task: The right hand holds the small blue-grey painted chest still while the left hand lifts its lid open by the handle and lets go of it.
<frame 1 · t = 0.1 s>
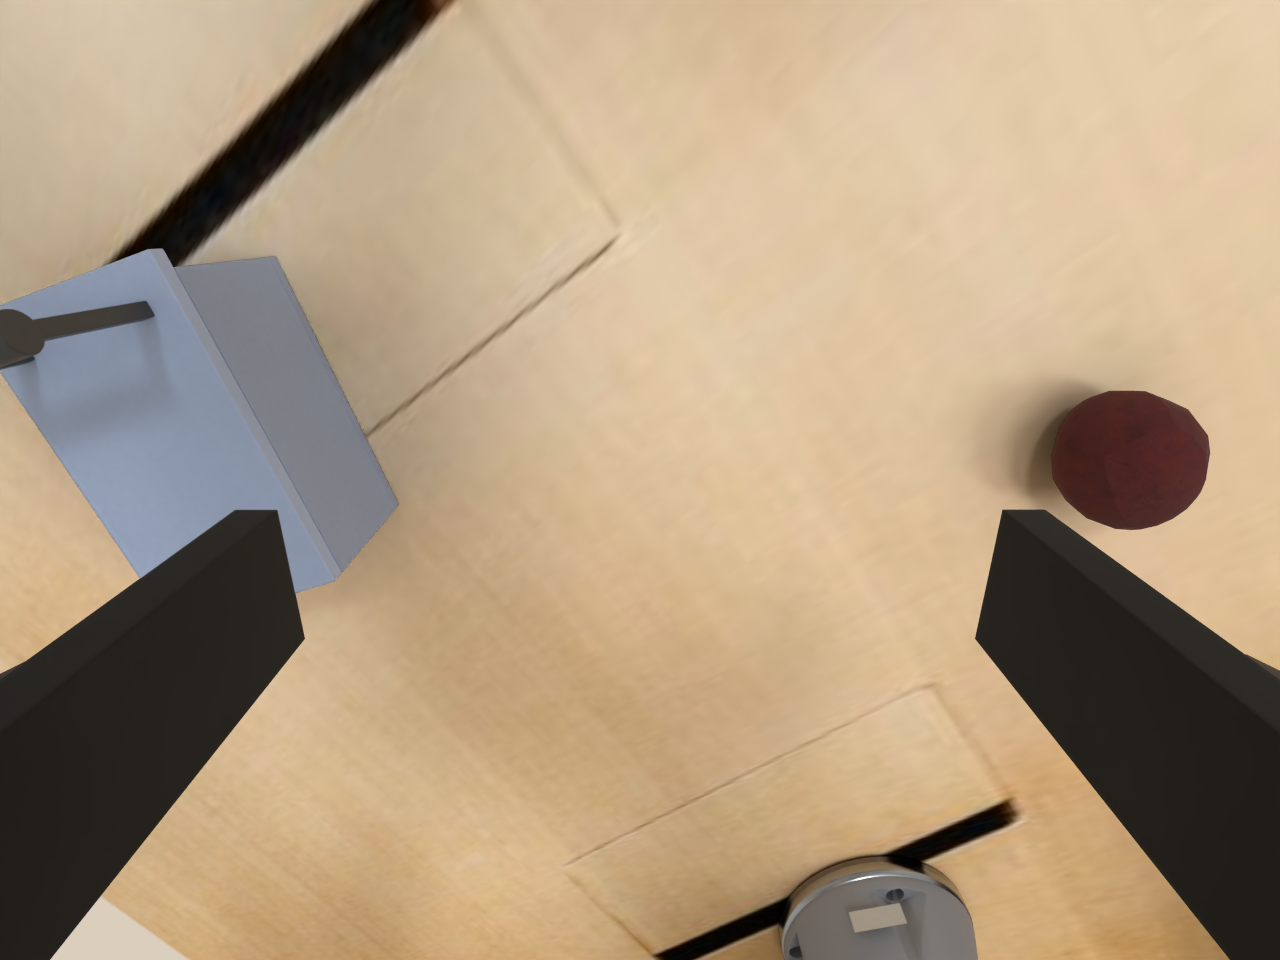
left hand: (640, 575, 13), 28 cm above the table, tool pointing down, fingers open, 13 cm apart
chest: (273, 412, 40), on the table
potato: (1085, 437, 41), on the table
lid: (111, 486, 28), point 13 cm above the table, hinge at 0.0°
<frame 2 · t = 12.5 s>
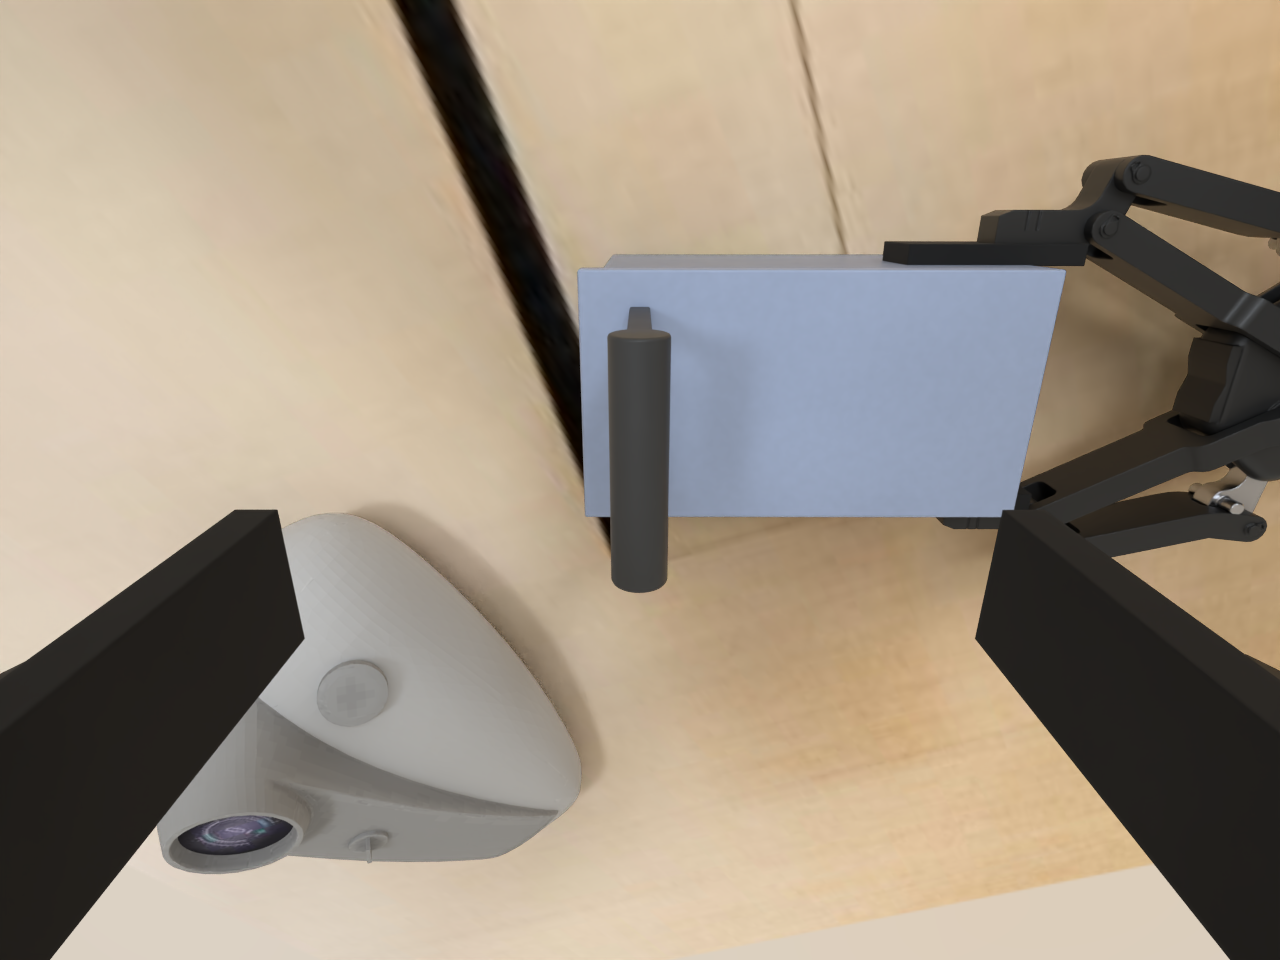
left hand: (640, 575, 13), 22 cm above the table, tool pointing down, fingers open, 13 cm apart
right hand: (878, 379, 28), fingers closed on chest, 9 cm apart
projector: (418, 675, 40), on the table
chest: (772, 352, 33), on the table, touching right hand
lid: (833, 428, 21), point 13 cm above the table, hinge at 0.0°
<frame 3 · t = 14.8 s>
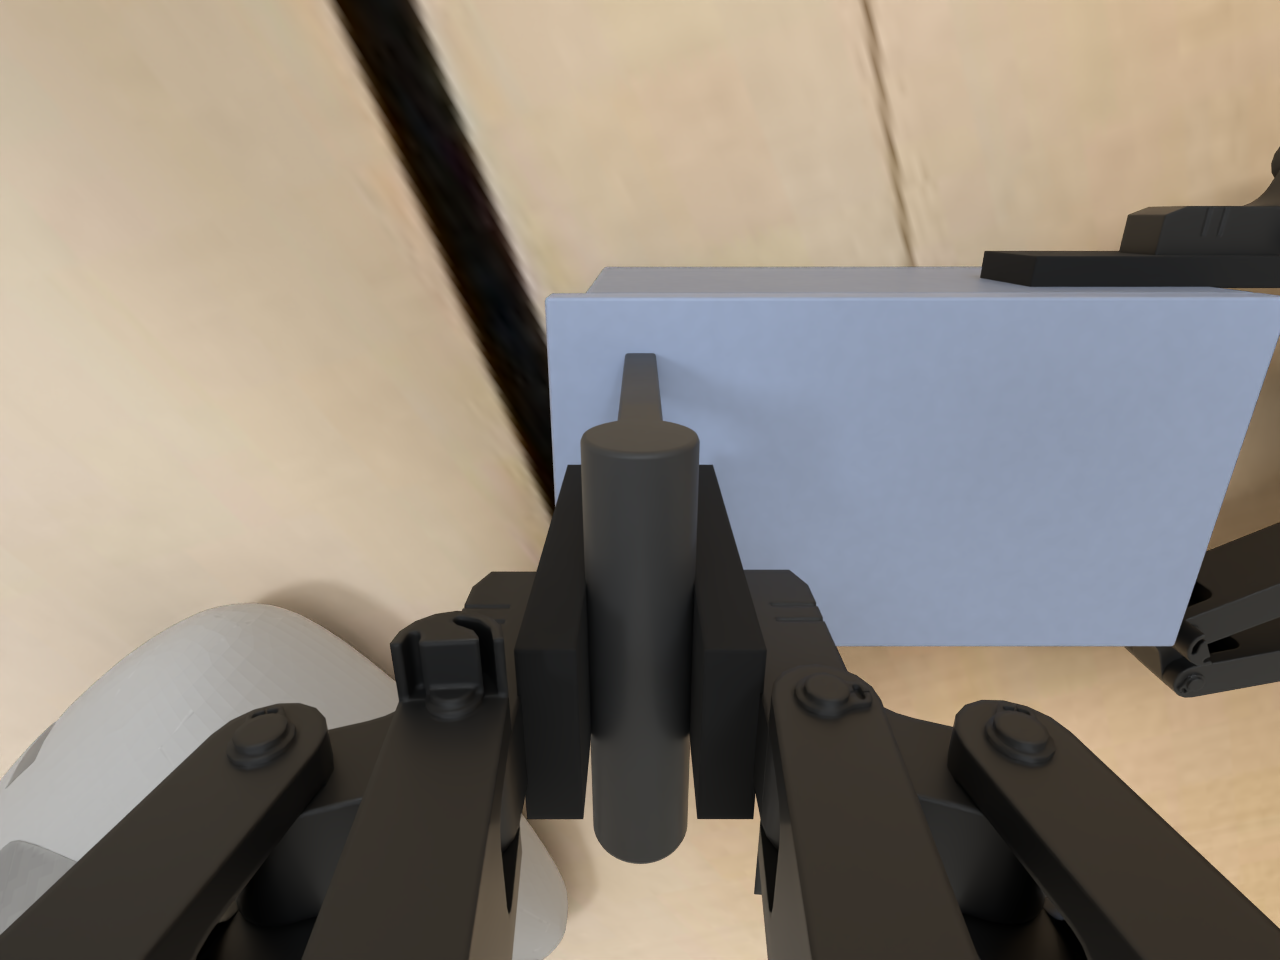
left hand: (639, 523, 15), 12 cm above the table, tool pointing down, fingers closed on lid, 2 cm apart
projector: (365, 785, 32), on the table
chest: (813, 393, 25), on the table, touching right hand
lid: (947, 551, 13), point 13 cm above the table, hinge at 0.1°, touching left hand
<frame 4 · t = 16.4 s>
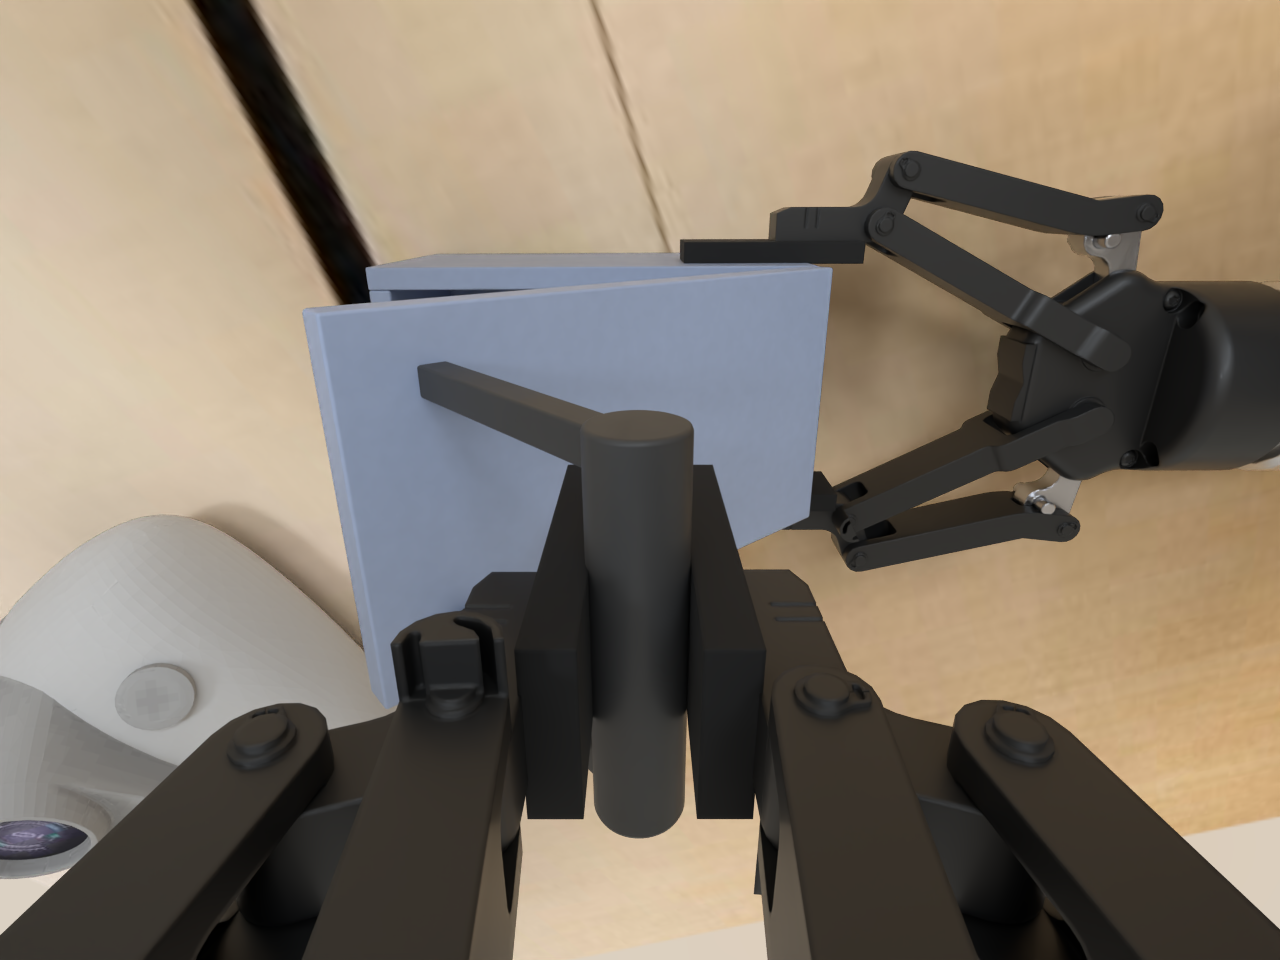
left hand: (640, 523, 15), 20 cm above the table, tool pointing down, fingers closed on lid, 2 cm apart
right hand: (679, 379, 27), fingers closed on chest, 9 cm apart
projector: (279, 677, 40), on the table
chest: (606, 351, 33), on the table, touching right hand
lid: (735, 482, 17), point 17 cm above the table, hinge at 41.0°, touching left hand
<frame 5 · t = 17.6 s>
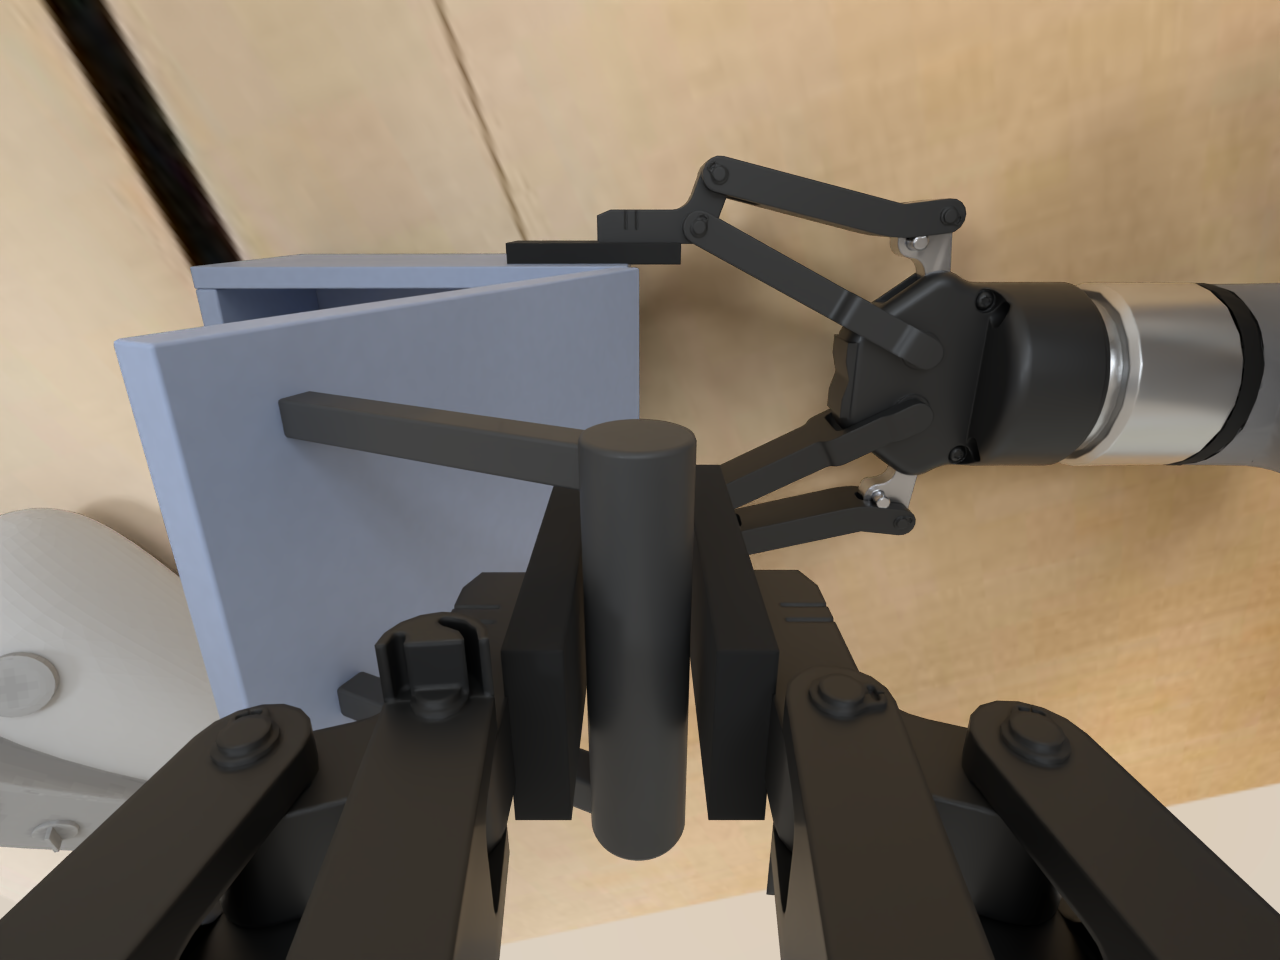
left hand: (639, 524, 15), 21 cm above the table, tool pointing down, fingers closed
right hand: (521, 376, 28), fingers closed on chest, 9 cm apart
projector: (175, 668, 41), on the table
chest: (474, 349, 34), on the table, touching right hand
lid: (619, 484, 17), point 18 cm above the table, hinge at 64.9°
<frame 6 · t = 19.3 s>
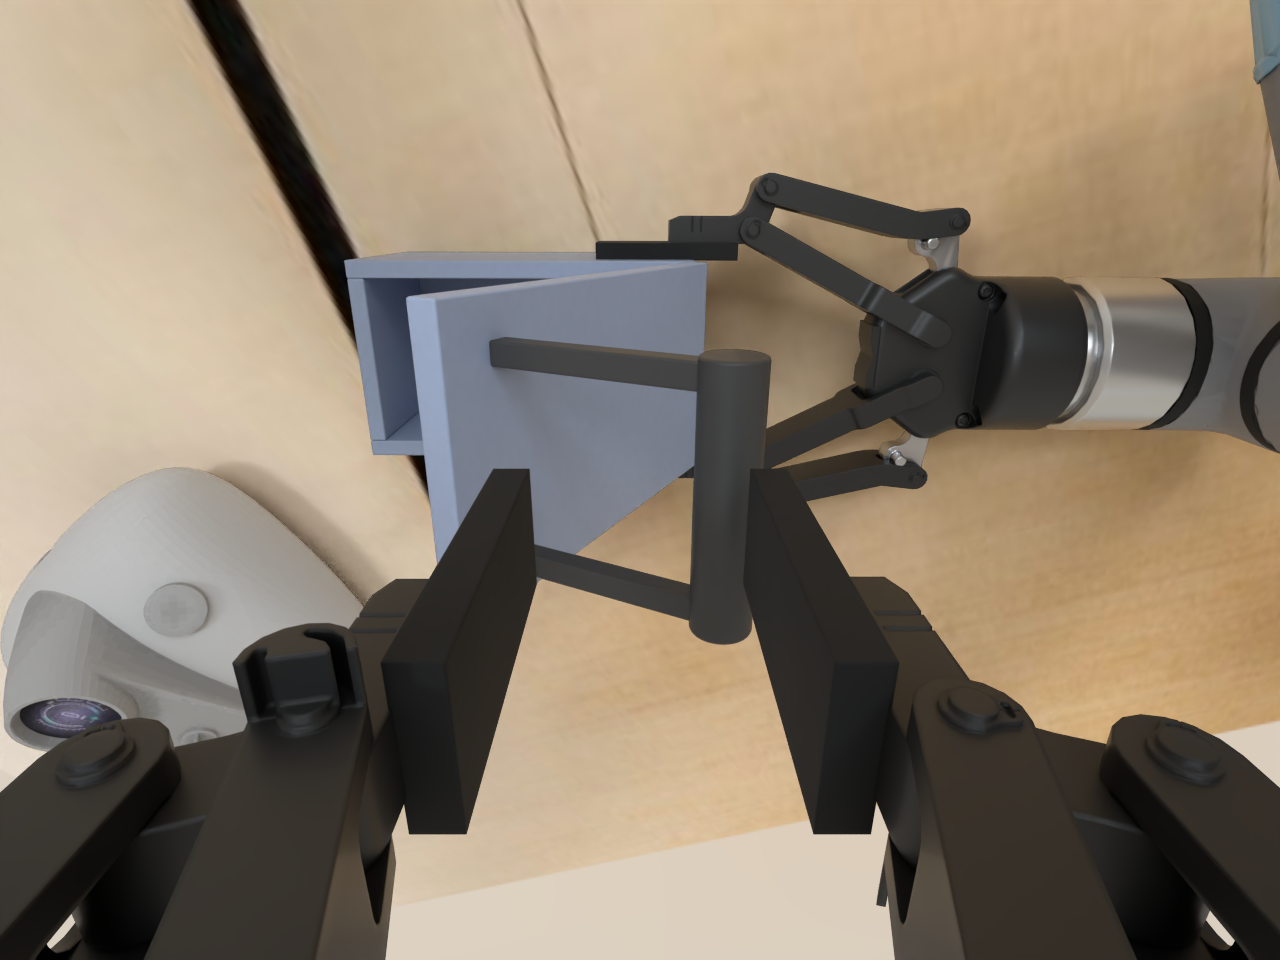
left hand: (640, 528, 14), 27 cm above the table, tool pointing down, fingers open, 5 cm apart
right hand: (599, 353, 34), fingers closed on chest, 9 cm apart
projector: (277, 615, 47), on the table
chest: (549, 334, 40), on the table, touching right hand
lid: (697, 420, 23), point 18 cm above the table, hinge at 62.3°
when the right hand's fingers open (6 cm above the table, at t = 21.8 s): chest stays where it is, on the table.
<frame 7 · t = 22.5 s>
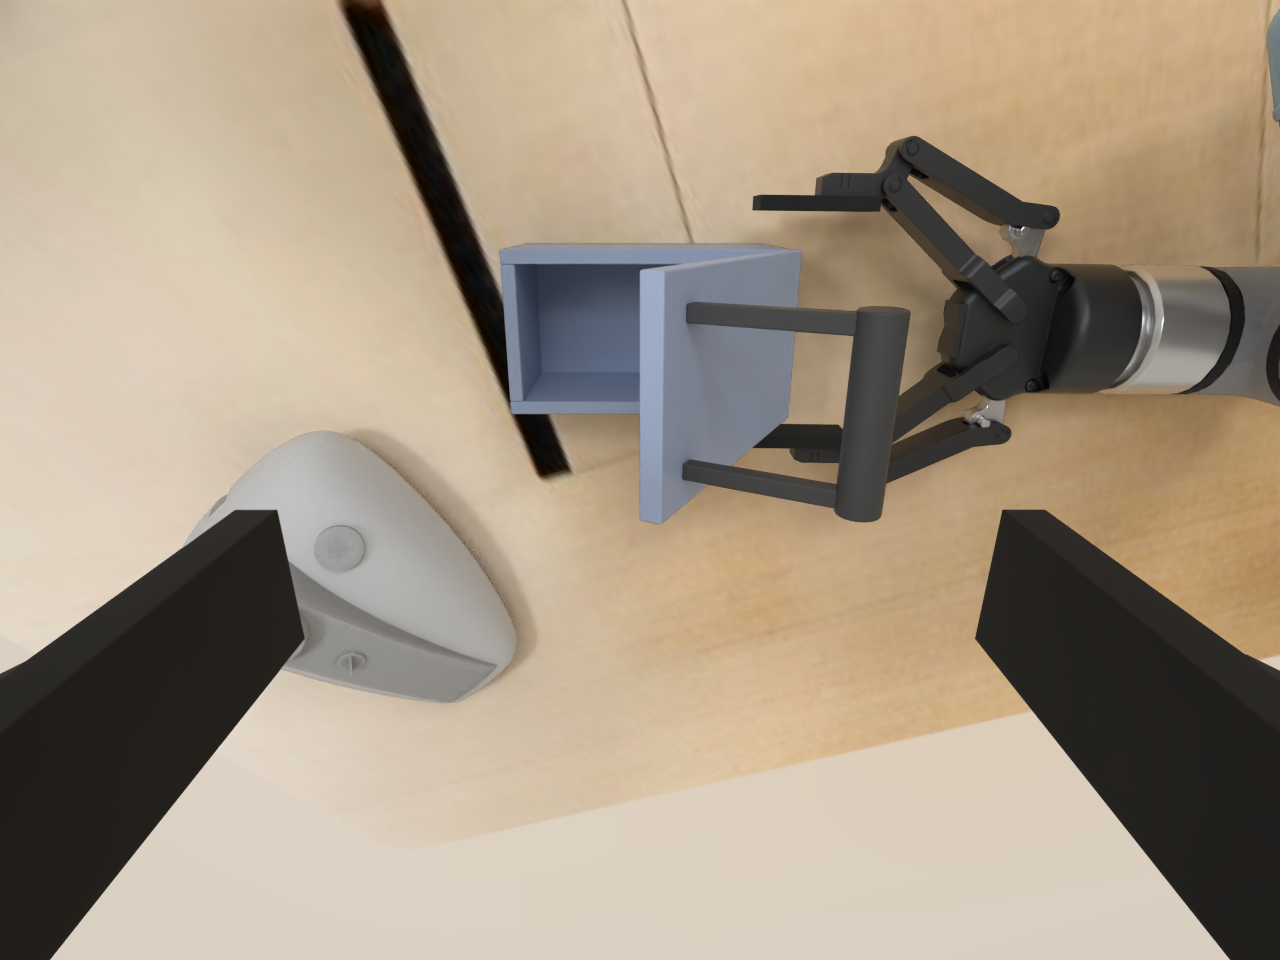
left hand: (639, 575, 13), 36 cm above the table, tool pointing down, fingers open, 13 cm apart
right hand: (747, 326, 40), fingers open, 13 cm apart
projector: (392, 565, 53), on the table
chest: (644, 314, 46), on the table
lid: (815, 372, 29), point 18 cm above the table, hinge at 62.0°
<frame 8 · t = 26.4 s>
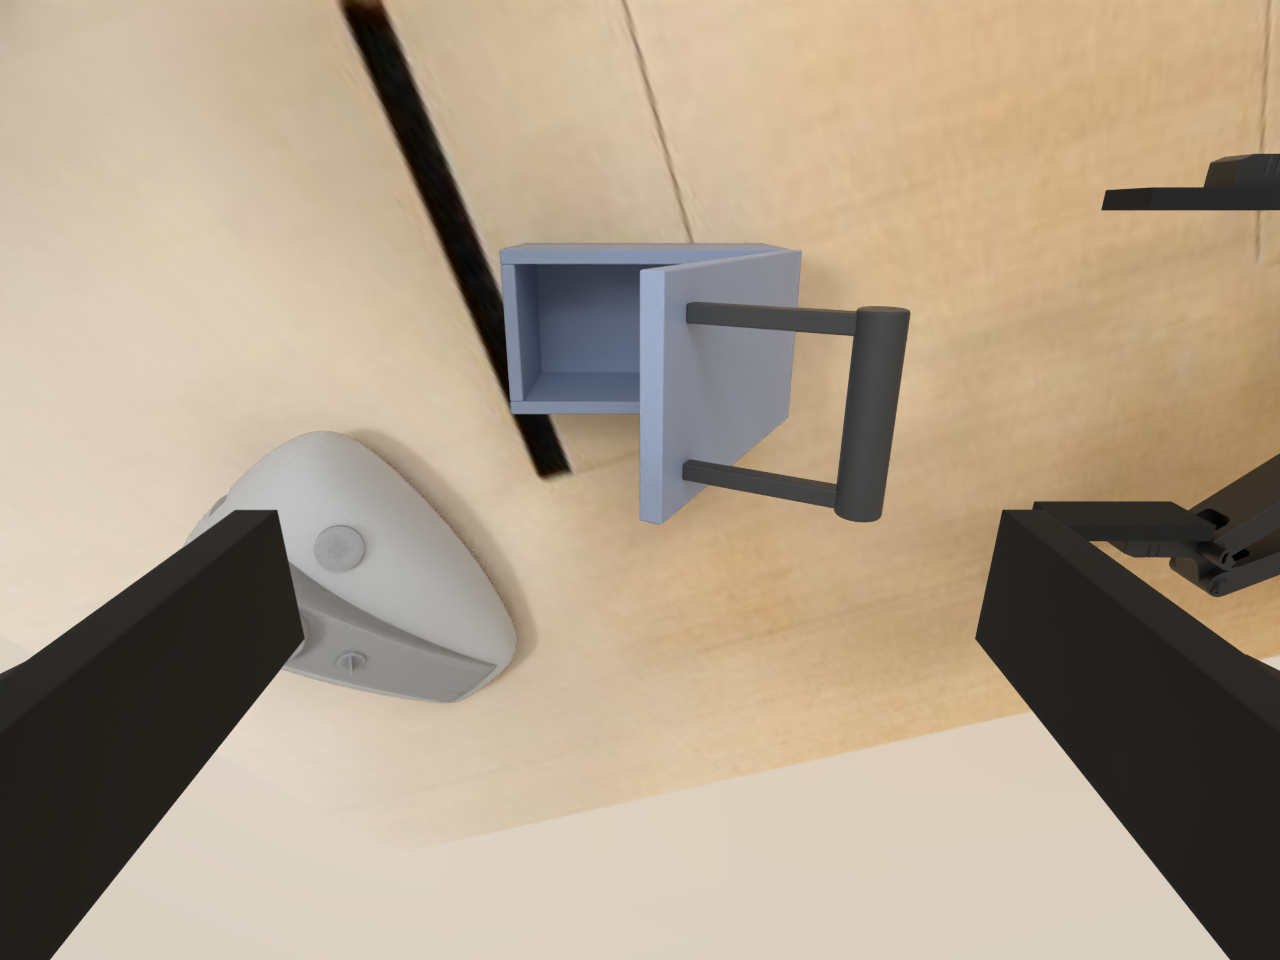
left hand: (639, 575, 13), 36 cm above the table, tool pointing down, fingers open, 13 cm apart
projector: (392, 565, 53), on the table
chest: (644, 314, 46), on the table
lid: (815, 372, 29), point 18 cm above the table, hinge at 62.0°
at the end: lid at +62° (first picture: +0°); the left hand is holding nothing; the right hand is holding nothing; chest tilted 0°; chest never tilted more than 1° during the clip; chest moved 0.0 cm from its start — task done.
